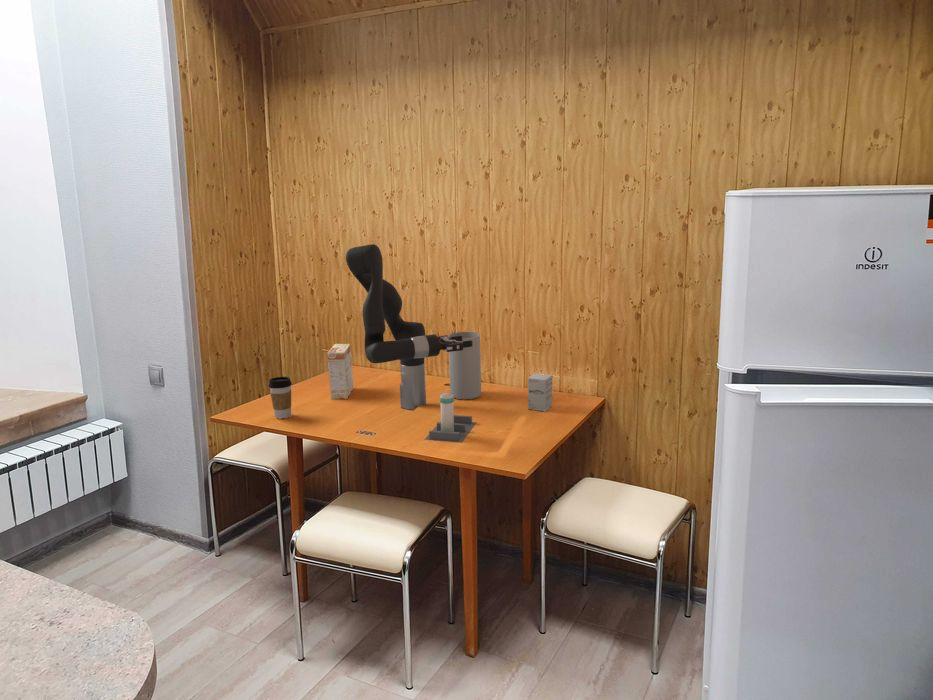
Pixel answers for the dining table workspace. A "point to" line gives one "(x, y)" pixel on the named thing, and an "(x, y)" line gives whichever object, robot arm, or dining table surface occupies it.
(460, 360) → the cylinder vase
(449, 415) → the white bottle teal band
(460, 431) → the grey twin-rail base
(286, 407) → the coffee cup
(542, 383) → the supplement box
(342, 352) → the coffeecake box
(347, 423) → the dining table surface
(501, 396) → the dining table surface
